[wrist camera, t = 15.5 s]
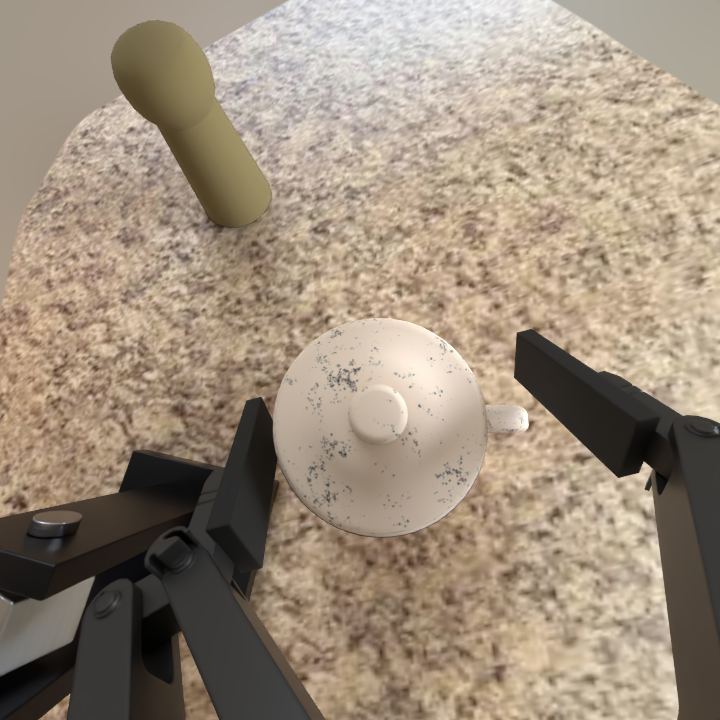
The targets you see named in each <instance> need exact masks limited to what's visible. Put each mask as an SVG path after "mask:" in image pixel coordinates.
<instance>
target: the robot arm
mask: <svg viewBox="0 0 720 720" xmlns="http://www.w3.org/2000/svg"><path fill="white" fill-rule="evenodd" d="M514 378H515V379H516V380H517V381H518V382H519V383H520V384H522V385H523V386H524V387H525V388H526V389H527V390H528V391H529V392H530V393H531V394H532V395H533V396H534V397H535V398H536V399H537V400H538V401H539V402H540V403H541V404H542V405H543V406H544V407H545V408H546V409H547V410H548V411H549V412H551V413H552V414H553V415H554V416H555V417H556V418H557V419H558V420H559V421H560V422H561V423H562V424H563V425H564V426H565V427H566V428H567V429H568V430H569V431H570V432H571V433H572V434H573V435H574V436H575V437H576V438H577V439H578V440H580V441H581V442H582V443H583V444H584V445H585V446H586V447H587V448H588V449H589V450H590V451H591V452H592V453H593V454H594V455H595V456H596V457H597V458H598V459H599V460H600V461H601V462H602V463H603V464H604V465H605V466H606V467H608V468H609V469H610V470H611V471H612V472H613V473H614V474H615V475H616V476H617V477H618V478H620V477H624V476H628V475H632V474H636V473H639V471H640V469H641V466H642V464H643V461H644V462H646V463H647V464H648V465H649V466H650V467H652V468H653V470H652V472H651V474H650V476H649V479H648V481H647V483H646V487H645V490H648V491H649V490H650V487H651V486H652V490H653V498H654V506H655V515H656V523H657V531H658V539H659V547H660V555H661V563H662V571H663V579H664V587H665V595H666V603H667V611H668V619H669V627H670V635H671V643H672V651H673V659H674V667H675V675H676V683H677V691H678V700H679V714H678V719H677V720H720V423H718V422H715V421H713V420H711V419H708V418H704V417H700V416H691V415H686V416H682V415H680V414H679V413H677V412H676V411H674V410H672V409H671V408H669V407H668V406H666V405H664V404H663V403H661V402H660V401H658V400H657V399H655V398H653V397H652V396H650V395H649V394H647V393H645V392H642V390H641V389H639V388H637V387H636V386H632V384H631V383H629V382H628V381H626V380H625V379H623V378H621V377H620V376H617V375H614V374H611V373H609V372H606V371H602V372H599V373H597V372H596V371H594V370H593V369H591V368H590V367H588V366H587V365H585V364H584V363H582V362H581V361H579V360H578V359H576V358H575V357H573V356H572V355H570V354H568V353H567V352H565V351H564V350H562V349H561V348H559V347H558V346H556V345H555V344H553V343H552V342H550V341H549V340H547V339H546V338H544V337H543V336H541V335H540V334H538V333H537V332H535V331H534V330H532V329H530V330H526V331H522V332H518V333H517V338H516V355H515V371H514ZM276 464H277V455H276V451H275V446H274V439H273V420H272V418H271V416H270V414H269V411H268V409H267V407H266V405H265V403H264V401H263V399H262V397H259V398H255V399H251V400H247V401H246V404H245V407H244V410H243V413H242V416H241V420H240V423H239V426H238V429H237V432H236V435H235V438H234V442H233V445H232V448H231V451H230V454H229V457H228V460H227V463H226V467H224V468H220V469H216V470H214V471H213V472H212V473H211V475H210V476H209V477H208V479H207V480H206V481H205V483H204V486H203V489H202V492H201V496H200V497H199V500H198V502H197V506H196V508H195V510H194V513H193V516H192V519H191V521H190V524H189V527H188V529H187V528H186V527H185V526H177V527H174V528H171V529H169V530H168V531H166V532H164V533H163V534H161V535H160V536H159V537H158V538H157V539H156V540H155V541H154V542H153V544H152V545H151V547H150V548H149V549H148V551H147V554H146V556H145V559H144V564H145V568H147V569H148V570H149V571H150V572H151V573H152V574H150V575H149V576H147V577H145V578H143V579H141V580H140V581H138V582H136V583H133V582H131V581H130V580H128V579H126V578H125V579H118V580H116V581H114V582H112V583H110V584H109V585H107V586H106V587H105V588H104V589H102V590H101V591H100V592H99V593H98V594H97V595H96V596H95V598H94V599H93V600H92V601H91V603H90V604H89V606H88V607H87V609H86V611H85V613H84V616H83V619H82V624H81V630H80V637H79V643H78V649H77V656H76V662H75V669H74V675H73V682H72V688H71V694H70V701H69V707H68V714H67V720H185V709H184V697H183V686H182V674H181V662H180V651H179V639H178V633H179V632H180V631H182V633H183V635H184V638H185V640H186V642H187V645H188V647H189V649H190V652H191V654H192V656H193V659H194V661H195V663H196V666H197V668H198V670H199V673H200V675H201V677H202V680H203V682H204V685H205V687H206V689H207V692H208V694H209V696H210V699H211V701H212V703H213V706H214V708H215V710H216V713H217V715H218V717H219V720H326V719H325V718H324V716H323V715H322V713H321V712H320V710H319V709H318V707H317V706H316V704H315V703H314V701H313V700H312V698H311V697H310V695H309V694H308V692H307V691H306V689H305V687H304V686H303V684H302V683H301V681H300V680H299V678H298V677H297V675H296V674H295V672H294V671H293V669H292V668H291V666H290V665H289V663H288V662H287V660H286V658H285V657H284V655H283V654H282V652H281V651H280V649H279V648H278V646H277V645H276V643H275V642H274V640H273V639H272V637H271V636H270V634H269V633H268V631H267V629H266V628H265V626H264V625H263V623H262V622H261V620H260V619H259V617H258V616H257V614H256V613H255V611H254V610H253V608H252V607H251V605H250V604H249V602H248V601H247V599H246V597H245V596H244V594H243V593H242V591H241V590H240V588H239V587H238V585H237V584H236V582H235V581H234V580H233V579H232V575H233V570H234V566H235V567H236V568H237V569H238V570H239V571H240V572H241V573H244V572H248V571H252V570H256V569H260V568H262V565H263V558H264V550H265V543H266V536H267V529H268V521H269V514H270V507H271V500H272V493H273V485H274V478H275V471H276Z"/></svg>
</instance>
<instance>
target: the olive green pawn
mask: <svg viewBox="0 0 720 720" xmlns="http://www.w3.org/2000/svg"><path fill="white" fill-rule="evenodd" d="M111 63H112V69H113V74H114V78H115V80H116V82H117V84H118V86H119V88H120V90H121V91H122V93H123V94H124V96H125V97H126V99H127V100H128V101H129V103H130V104H131V105H132V106H133V108H134V109H135V110H136V111H137V112H138V113H139V114H141V115H142V116H143V117H144V118H145V119H147V120H149V121H150V122H152V123H154V124H156V125H157V126H158V128H159V130H160V132H161V134H162V135H163V137H164V139H165V141H166V142H167V144H168V146H169V148H170V150H171V151H172V153H173V155H174V157H175V158H176V160H177V162H178V164H179V166H180V167H181V169H182V171H183V173H184V175H185V176H186V178H187V180H188V182H189V183H190V185H191V187H192V189H193V191H194V192H195V194H196V196H197V198H198V199H199V201H200V203H201V205H202V207H203V208H204V210H205V212H206V213H207V215H208V216H209V218H210V219H211V220H212V221H214V222H215V223H217V224H218V225H221V226H225V227H241V226H244V225H247V224H250V223H252V222H253V221H255V220H257V219H258V218H259V217H260V216H261V215H262V214H263V213H264V212H265V211H266V210H267V207H268V205H269V203H270V201H271V189H270V185H269V183H268V181H267V179H266V178H265V176H264V175H263V173H262V171H261V170H260V168H259V167H258V165H257V163H256V162H255V160H254V159H253V157H252V155H251V154H250V152H249V150H248V149H247V147H246V146H245V144H244V142H243V141H242V139H241V138H240V136H239V134H238V133H237V131H236V130H235V128H234V126H233V125H232V123H231V122H230V120H229V118H228V117H227V115H226V113H225V112H224V110H223V109H222V107H221V105H220V104H219V102H218V101H217V99H216V97H215V84H214V79H213V75H212V71H211V67H210V64H209V62H208V60H207V58H206V55H205V54H204V52H203V51H202V49H201V48H200V47H199V45H198V43H197V42H196V41H195V40H194V38H193V37H192V36H191V35H190V34H189V33H188V32H186V31H185V30H184V29H183V28H182V27H180V26H178V25H176V24H174V23H170V22H165V21H159V20H156V21H147V22H143V23H140V24H137V25H135V26H133V27H131V28H130V29H128V30H127V31H126V32H124V33H123V34H122V35H121V36H120V37H119V39H118V41H117V42H116V43H115V45H114V47H113V51H112V54H111Z"/></svg>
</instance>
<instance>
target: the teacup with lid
mask: <svg viewBox="0 0 720 720" xmlns="http://www.w3.org/2000/svg"><path fill="white" fill-rule="evenodd" d="M528 426H529V423H528V416H527V412H526V411H525V409H523V408H522V407H519V406H513V405H485V403H484V399H483V395H482V392H481V390H480V387H479V385H478V382H477V380H476V378H475V376H474V374H473V373H472V371H471V369H470V368H469V366H468V365H467V364H466V362H465V361H464V359H463V358H462V357H461V356H460V355H459V354H458V353H457V351H456V350H455V349H453V348H452V347H451V346H450V345H449V344H448V343H447V342H445V341H444V340H443V339H442V338H440V337H439V336H437V335H436V334H434V333H432V332H431V331H429V330H427V329H425V328H423V327H420V326H418V325H415V324H412V323H409V322H405V321H401V320H396V319H387V318H370V319H362V320H356V321H353V322H349V323H346V324H343V325H340V326H338V327H335V328H333V329H331V330H329V331H328V332H326V333H324V334H323V335H321V336H319V337H318V338H317V339H315V340H314V341H313V342H312V343H310V344H309V345H308V346H307V347H306V348H305V349H304V350H303V351H302V352H301V353H300V354H299V355H298V357H297V358H296V359H295V360H294V362H293V363H292V365H291V366H290V368H289V369H288V371H287V373H286V375H285V377H284V379H283V381H282V383H281V386H280V388H279V391H278V394H277V398H276V402H275V407H274V414H273V439H274V446H275V451H276V455H277V459H278V462H279V465H280V467H281V470H282V472H283V475H284V476H285V478H286V480H287V482H288V484H289V485H290V487H291V489H292V490H293V492H294V493H295V494H296V496H297V497H298V498H299V499H300V501H301V502H302V503H303V504H304V505H305V506H306V507H307V508H308V509H309V510H311V511H312V512H313V513H314V514H315V515H317V516H318V517H319V518H321V519H322V520H324V521H325V522H327V523H329V524H331V525H333V526H334V527H336V528H339V529H341V530H344V531H346V532H349V533H353V534H356V535H361V536H367V537H379V538H383V537H396V536H402V535H407V534H410V533H414V532H417V531H419V530H422V529H424V528H427V527H428V526H430V525H432V524H434V523H436V522H437V521H439V520H440V519H442V518H443V517H445V516H446V515H447V514H448V513H450V512H451V511H452V510H453V509H454V508H455V507H456V506H457V505H458V504H459V503H460V502H461V501H462V500H463V498H464V497H465V496H466V494H467V493H468V492H469V490H470V489H471V487H472V485H473V484H474V482H475V480H476V478H477V476H478V474H479V471H480V469H481V466H482V463H483V460H484V456H485V451H486V445H487V435H488V433H511V432H523V431H525V430H526V429H527V428H528Z"/></svg>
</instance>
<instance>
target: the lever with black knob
mask: <svg viewBox="0 0 720 720" xmlns="http://www.w3.org/2000/svg"><path fill="white" fill-rule="evenodd" d="M94 580H95V576H93V577H91V578H89V579H87V580H84V581H82V582H80V583H78V584H76V585H74V586H72V587H70V588H68V589H66V590H64V591H62V592H60V593H58V594H56V595H54V596H52V597H50V598H48V599H45V600H43V601H37V600H34V599H31V598H27V597H24V596H21V595H17V594H14V593H11V592H8V591H4V590H1V589H0V677H1V676H3V675H5V674H7V673H9V672H11V671H13V670H15V669H17V668H19V667H22V666H24V665H26V664H28V663H30V662H32V661H34V660H36V659H38V658H40V657H42V656H45V655H47V654H49V653H51V652H53V651H55V650H57V649H59V648H61V647H63V646H66V645H68V644H70V643H71V642H72V641H73V639H74V637H75V634H76V631H77V628H78V625H79V622H80V620H81V617H82V614H83V611H84V608H85V606H86V603H87V600H88V597H89V594H90V591H91V589H92V586H93V583H94Z"/></svg>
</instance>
